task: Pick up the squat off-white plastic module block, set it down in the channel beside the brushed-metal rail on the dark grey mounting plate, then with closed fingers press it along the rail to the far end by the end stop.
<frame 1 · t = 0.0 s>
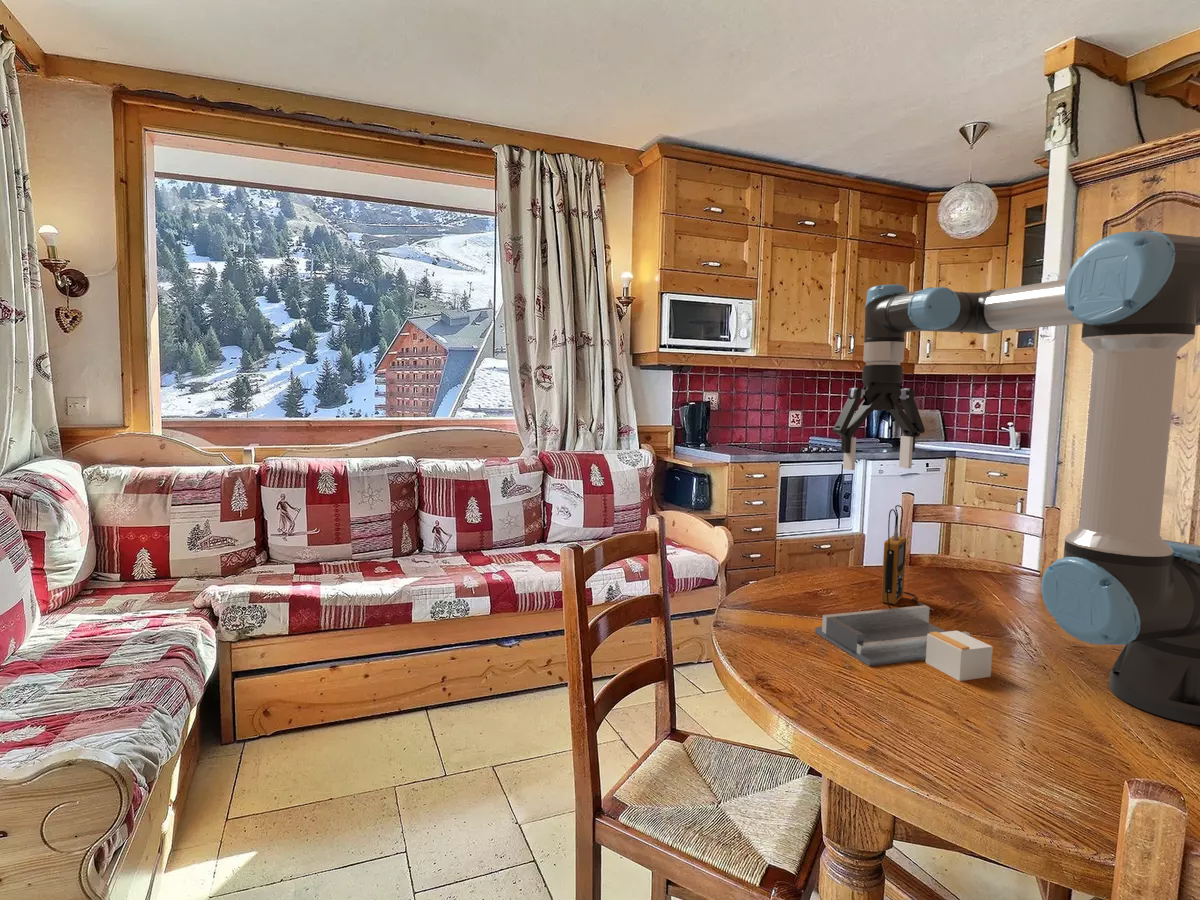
hand: (877, 468, 137), 28 cm above the table, fingers open, 13 cm apart
module: (957, 670, 107), on the table
multimeter: (910, 604, 139), on the table
rail base: (894, 642, 117), on the table
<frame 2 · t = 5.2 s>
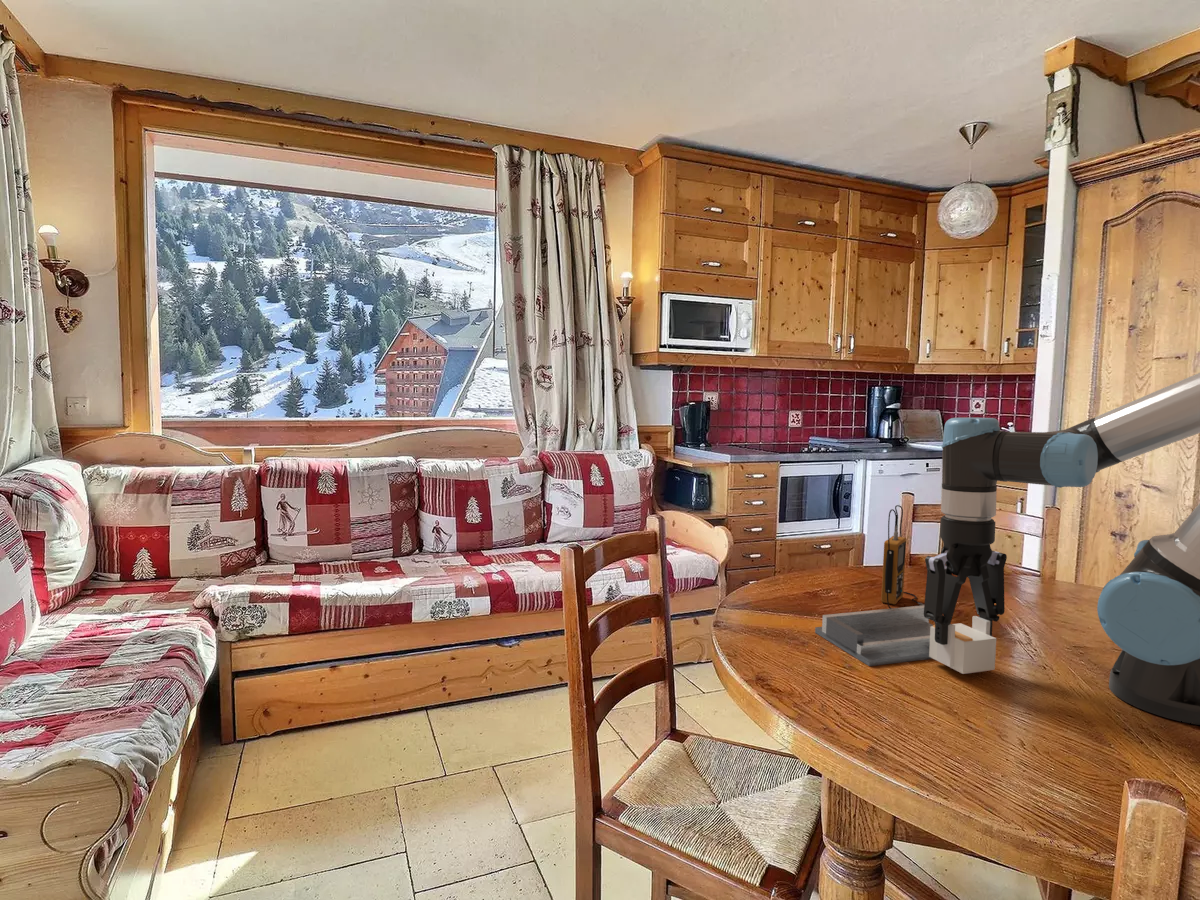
hand: (962, 660, 106), 2 cm above the table, fingers closed on module, 6 cm apart
module: (961, 662, 106), point 1 cm above the table, touching gripper
everything else where it was.
when the fingers open (2 cm above the table, at t = 9.4 s): module stays where it is, resting on rail base.
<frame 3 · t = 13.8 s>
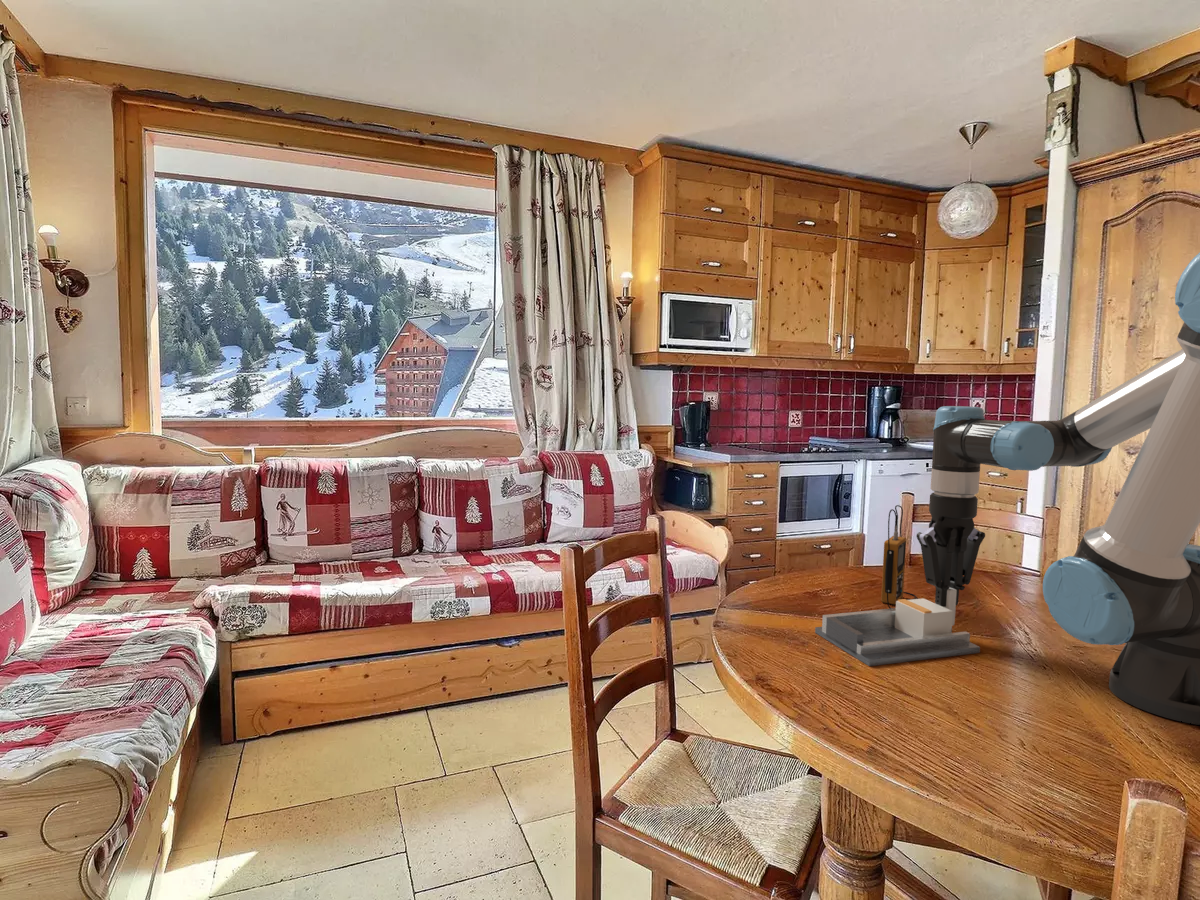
hand: (945, 622, 120), 2 cm above the table, fingers closed
module: (922, 633, 119), point 1 cm above the table, touching gripper, rail base
everything else where it was.
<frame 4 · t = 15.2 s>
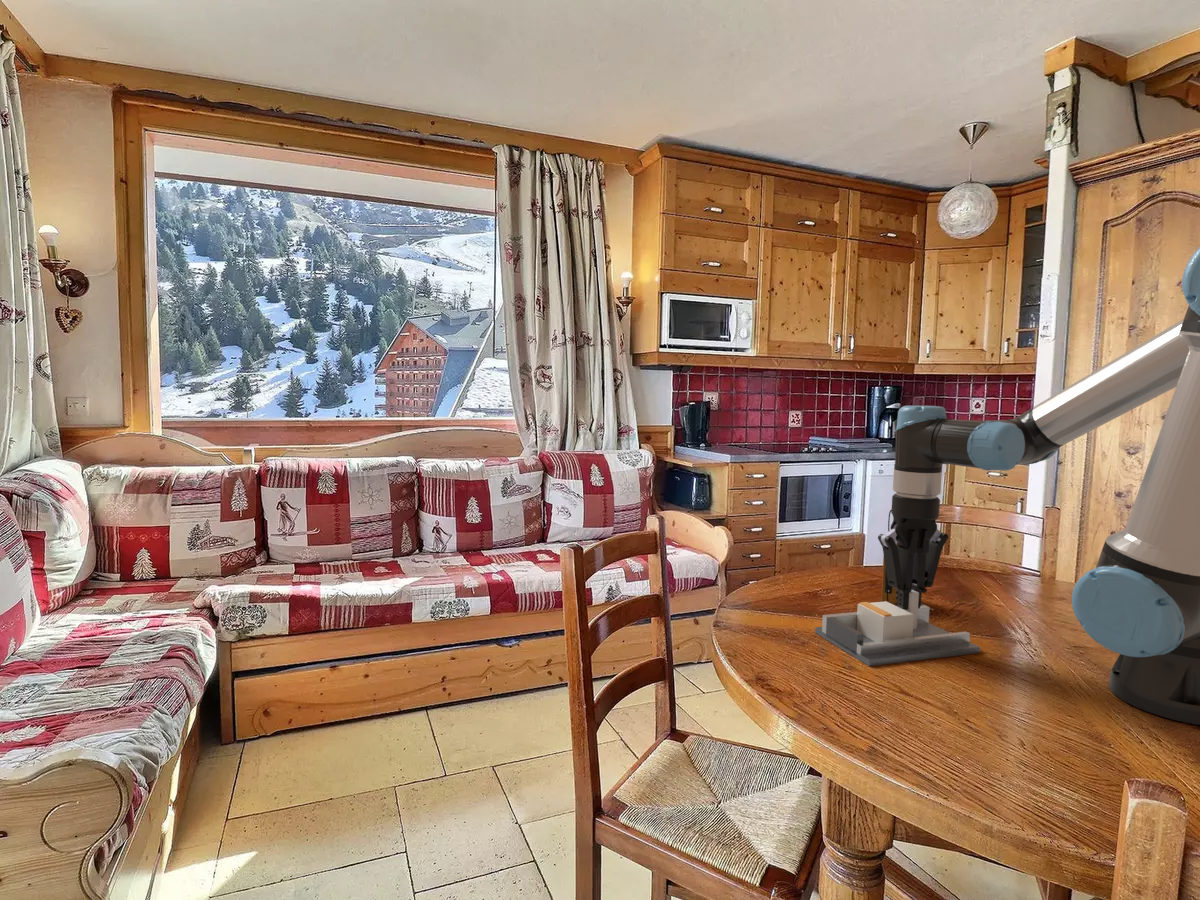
hand: (907, 626, 118), 3 cm above the table, fingers closed
module: (883, 636, 117), point 1 cm above the table
everything else where it was.
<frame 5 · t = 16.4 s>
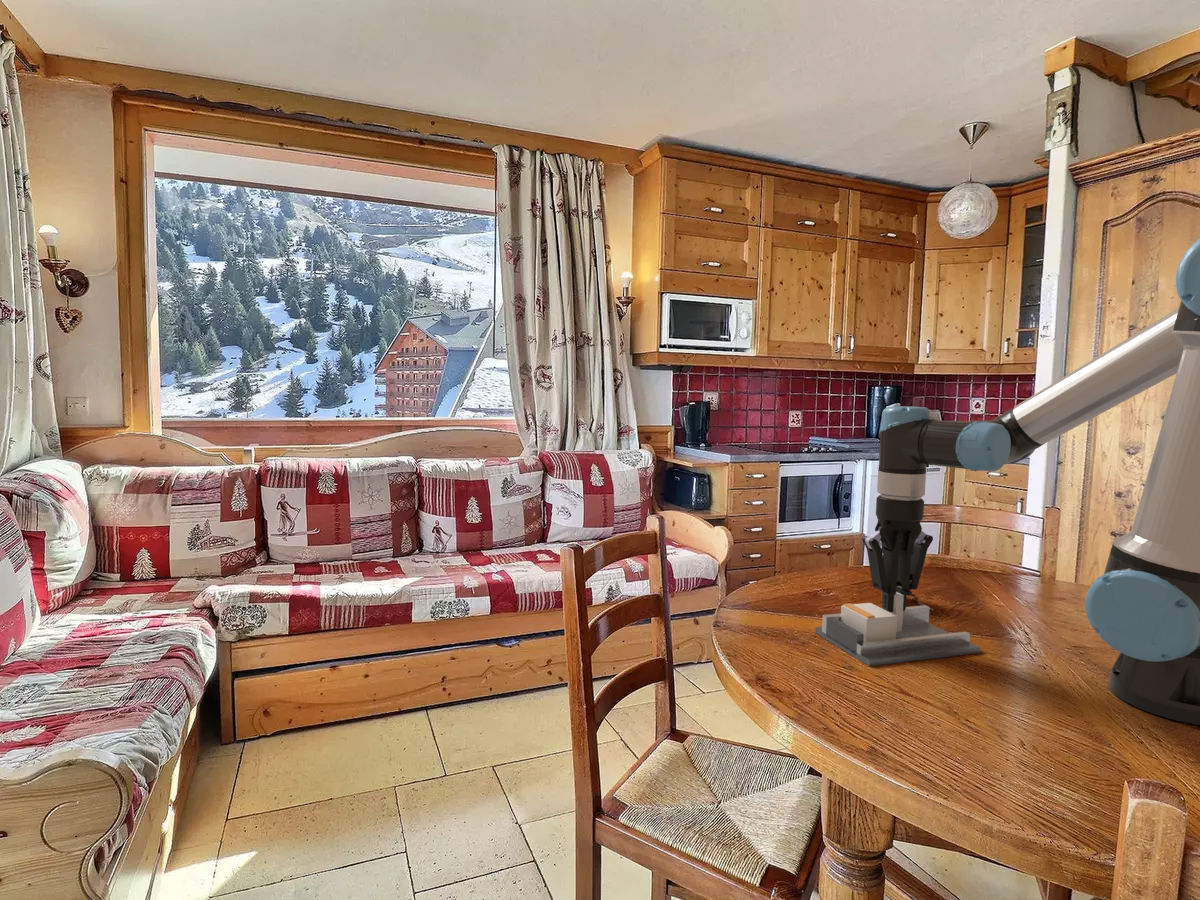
hand: (892, 628, 117), 2 cm above the table, fingers closed
module: (867, 638, 117), point 1 cm above the table, touching gripper, rail base
everything else where it was.
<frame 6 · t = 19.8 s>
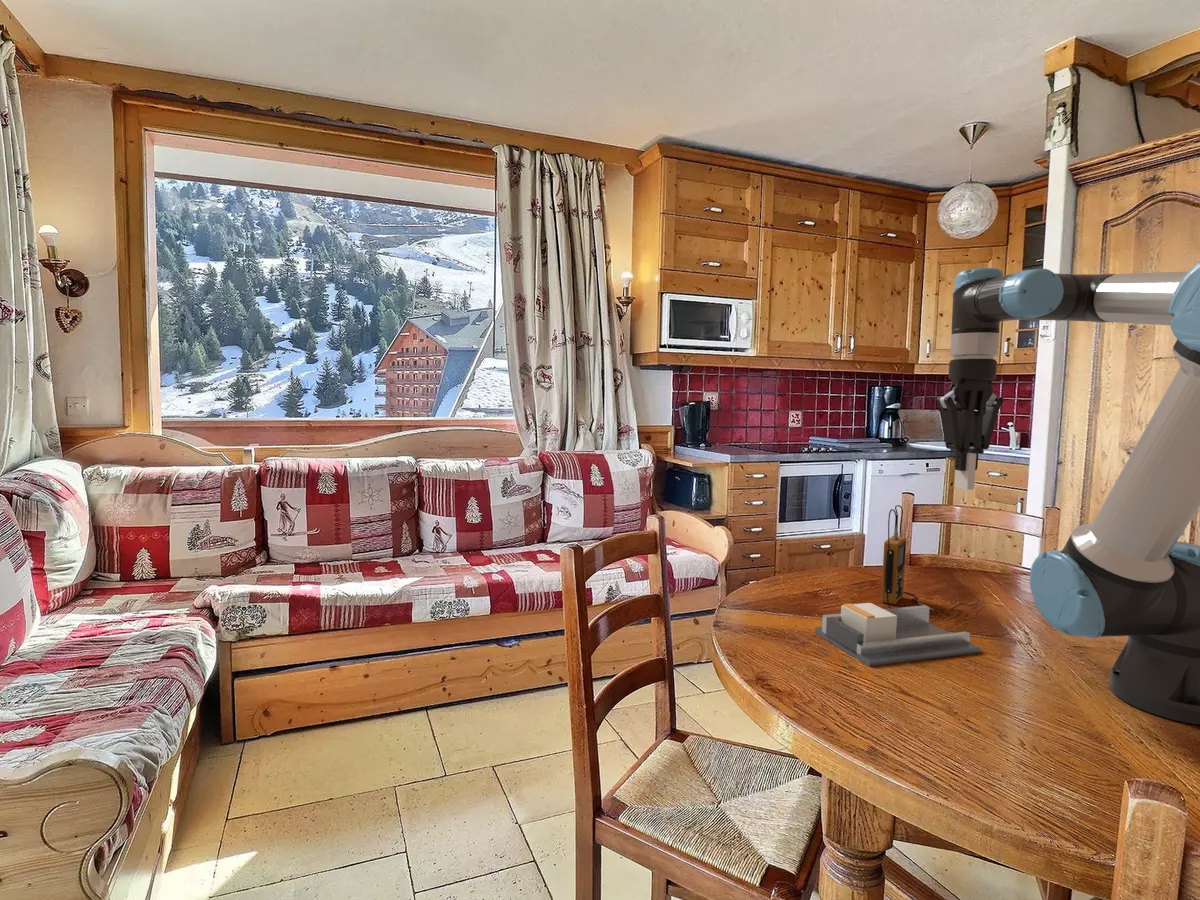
hand: (964, 488, 122), 26 cm above the table, fingers closed
module: (867, 638, 117), point 1 cm above the table, touching rail base
everything else where it was.
at the end: module 0.8 cm from the target spot on the rail base, point 1.0 cm above the rail base's base; module tilted 0°; the gripper is holding nothing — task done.
